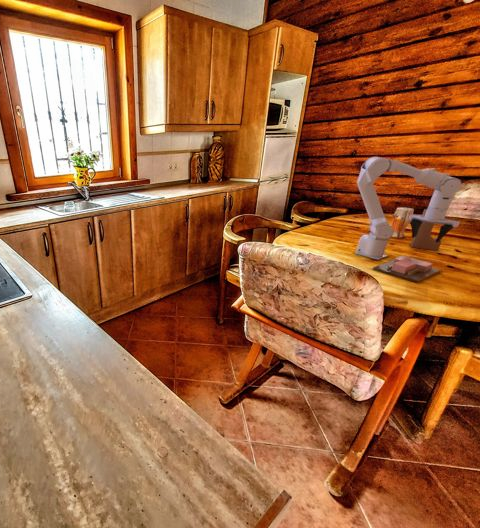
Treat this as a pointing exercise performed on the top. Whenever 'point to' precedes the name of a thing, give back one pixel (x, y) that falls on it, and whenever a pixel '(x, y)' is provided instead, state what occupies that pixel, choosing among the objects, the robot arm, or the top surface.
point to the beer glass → (401, 221)
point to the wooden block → (425, 237)
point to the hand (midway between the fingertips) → (425, 239)
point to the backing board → (416, 275)
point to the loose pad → (403, 266)
